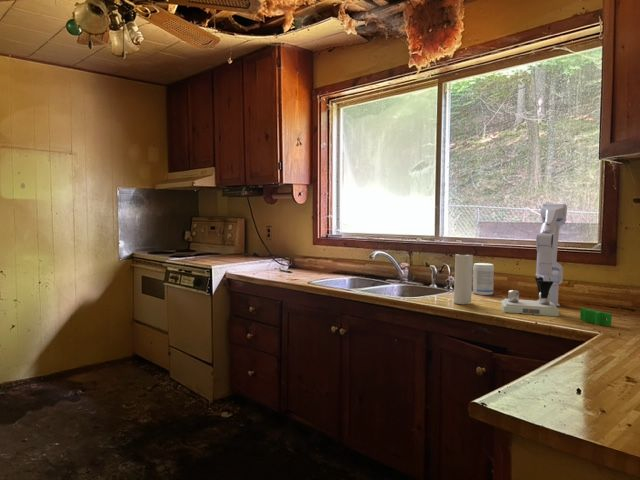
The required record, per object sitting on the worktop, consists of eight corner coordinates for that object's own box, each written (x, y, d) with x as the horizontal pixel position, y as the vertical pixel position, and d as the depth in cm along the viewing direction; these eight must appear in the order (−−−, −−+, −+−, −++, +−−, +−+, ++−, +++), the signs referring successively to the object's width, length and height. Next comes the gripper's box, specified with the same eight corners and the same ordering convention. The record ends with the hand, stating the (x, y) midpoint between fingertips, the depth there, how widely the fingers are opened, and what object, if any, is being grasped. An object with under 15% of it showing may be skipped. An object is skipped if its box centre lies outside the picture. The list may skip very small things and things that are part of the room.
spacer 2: (537, 302, 192) (538, 291, 192) (548, 303, 191) (548, 292, 191) (539, 304, 188) (540, 293, 188) (550, 305, 187) (551, 294, 187)
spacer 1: (507, 300, 195) (508, 289, 195) (518, 301, 194) (518, 290, 194) (508, 302, 192) (508, 291, 191) (518, 303, 190) (519, 292, 190)
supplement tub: (497, 294, 228) (498, 264, 227) (483, 296, 223) (484, 265, 222) (482, 291, 236) (483, 262, 235) (468, 292, 232) (469, 263, 231)
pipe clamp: (575, 320, 176) (575, 308, 176) (582, 319, 178) (582, 307, 177) (604, 327, 166) (605, 314, 166) (611, 326, 167) (612, 313, 167)
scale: (501, 305, 201) (501, 297, 201) (552, 309, 195) (553, 301, 195) (503, 312, 187) (503, 304, 187) (559, 316, 181) (559, 308, 181)
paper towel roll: (453, 304, 202) (455, 254, 201) (454, 301, 208) (455, 253, 207) (470, 305, 200) (472, 255, 199) (471, 302, 206) (473, 254, 204)
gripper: (558, 265, 180) (556, 300, 181) (552, 261, 194) (550, 294, 195) (538, 264, 183) (536, 299, 183) (533, 261, 196) (532, 293, 197)
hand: (542, 296), depth 189 cm, fingers open, 6 cm apart
